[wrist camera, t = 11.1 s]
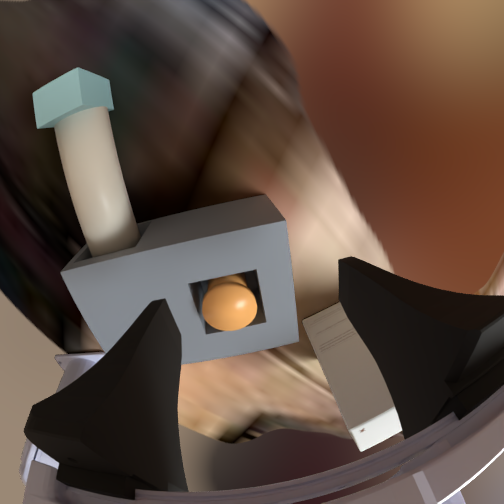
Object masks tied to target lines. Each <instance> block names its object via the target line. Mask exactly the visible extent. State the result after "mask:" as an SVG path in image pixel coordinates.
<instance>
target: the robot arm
mask: <svg viewBox="0 0 504 504" xmlns="http://www.w3.org/2000/svg"><path fill="white" fill-rule="evenodd" d="M338 264H339V301H340V303H341V305H342V307H343V309H344V312H345V314H346V316H347V318H348V319H349V321H350V322H351V324H352V325H353V327H354V328H355V330H356V331H357V333H358V335H359V336H360V338H361V339H362V341H363V342H364V344H365V345H366V347H367V348H368V350H369V351H370V353H371V354H372V356H373V358H374V360H375V361H376V363H377V365H378V367H379V370H380V372H381V374H382V376H383V378H384V380H385V383H386V385H387V388H388V390H389V393H390V395H391V397H392V400H393V403H394V406H395V409H396V411H397V414H398V417H399V421H400V424H401V427H402V431H403V434H404V438H405V440H403V441H401V442H400V443H397V444H395V445H393V446H391V447H389V448H387V449H384V450H382V451H380V452H378V453H375V454H373V455H370V456H368V457H366V458H363V459H360V460H358V461H355V462H352V463H350V464H347V465H344V466H341V467H338V468H335V469H332V470H329V471H325V472H322V473H319V474H315V475H311V476H307V477H304V478H299V479H295V480H291V481H287V482H281V483H276V484H271V485H266V486H259V487H252V488H244V489H235V490H226V491H209V492H189V491H188V487H187V483H186V478H185V473H184V468H183V462H182V456H181V449H180V439H179V429H178V410H177V408H178V391H179V381H180V371H181V361H182V337H181V333H180V331H179V328H178V326H177V324H176V322H175V320H174V317H173V315H172V313H171V310H170V308H169V306H168V303H167V301H166V299H165V298H164V299H159V300H154V301H151V302H150V303H149V304H148V306H147V307H146V308H145V309H144V310H143V311H142V313H141V314H140V315H139V316H138V318H137V319H136V320H135V321H134V322H133V324H132V325H131V326H130V327H129V329H128V330H127V331H126V332H125V333H124V334H123V336H122V337H121V338H120V339H119V340H118V341H117V342H116V343H115V345H114V346H113V347H112V348H111V349H110V350H109V351H108V352H107V353H106V354H105V353H103V352H94V353H81V354H64V355H55V360H56V361H57V363H58V364H59V365H60V366H61V368H62V369H63V370H64V374H63V377H62V379H61V381H60V384H59V386H58V389H57V391H56V393H55V394H53V395H52V396H50V397H48V398H46V399H44V400H42V401H40V402H39V403H37V404H34V405H33V406H32V409H31V411H30V414H29V417H28V420H27V422H26V426H25V428H24V433H25V435H26V437H27V439H26V442H25V445H24V449H23V452H22V456H21V465H20V469H19V473H20V475H21V480H22V482H23V483H24V485H25V486H26V488H25V493H24V499H23V504H289V503H294V502H298V501H303V500H307V499H311V498H315V497H318V496H322V495H325V494H329V493H332V492H335V491H338V490H341V489H344V488H347V487H350V486H353V485H355V484H358V483H361V482H363V481H366V480H369V479H371V478H373V477H375V476H378V475H380V474H383V473H385V472H387V471H389V470H391V469H393V468H396V467H398V466H400V465H402V464H404V463H406V462H407V463H406V464H404V465H402V466H401V468H400V471H398V472H397V473H396V474H395V475H394V476H392V477H391V478H390V479H388V480H387V481H385V482H383V483H381V484H378V485H376V486H373V487H370V488H368V489H365V490H362V491H360V492H357V493H354V494H351V495H348V496H345V497H342V498H339V499H336V500H332V501H329V502H326V503H322V504H466V503H465V500H464V498H463V496H462V494H461V492H460V489H462V488H463V487H464V486H465V485H467V484H468V483H469V482H470V481H471V480H473V479H474V478H475V477H476V476H478V475H479V474H480V473H481V472H482V471H483V470H484V469H485V468H486V467H487V466H489V465H490V464H491V463H492V462H493V461H494V460H495V459H496V458H497V457H498V456H499V455H500V454H501V453H502V452H503V451H504V296H488V295H472V294H463V293H456V292H451V291H446V290H441V289H437V288H433V287H429V286H426V285H423V284H419V283H416V282H413V281H411V280H408V279H405V278H403V277H400V276H397V275H395V274H393V273H390V272H388V271H385V270H383V269H381V268H379V267H376V266H374V265H372V264H370V263H367V262H365V261H363V260H360V259H358V258H355V257H352V256H351V257H347V258H343V259H339V260H338ZM413 458H414V459H413ZM411 459H412V460H411ZM409 460H410V461H409ZM408 461H409V462H408Z"/></svg>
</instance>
